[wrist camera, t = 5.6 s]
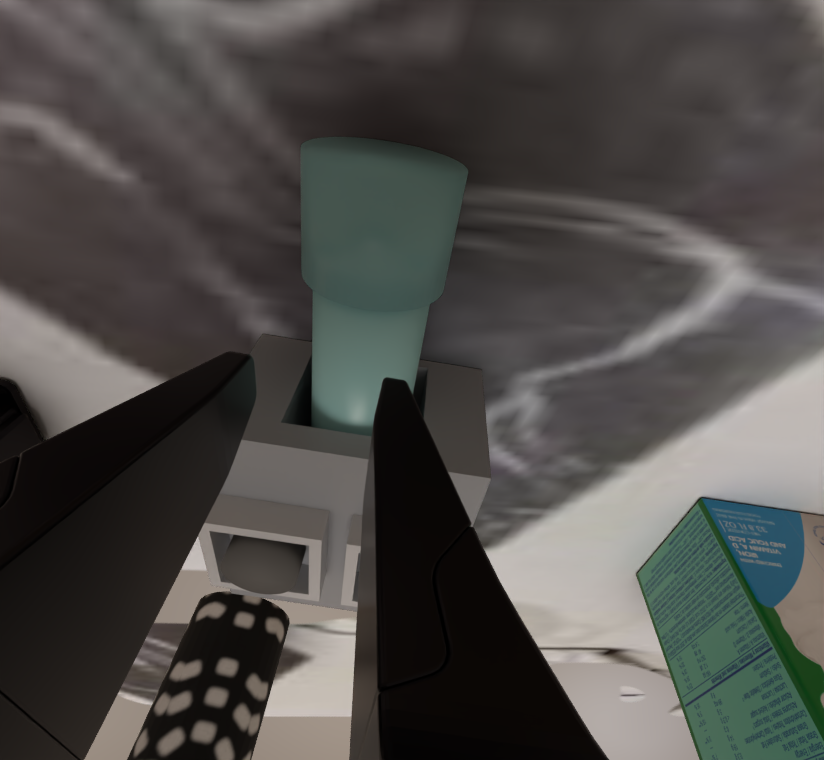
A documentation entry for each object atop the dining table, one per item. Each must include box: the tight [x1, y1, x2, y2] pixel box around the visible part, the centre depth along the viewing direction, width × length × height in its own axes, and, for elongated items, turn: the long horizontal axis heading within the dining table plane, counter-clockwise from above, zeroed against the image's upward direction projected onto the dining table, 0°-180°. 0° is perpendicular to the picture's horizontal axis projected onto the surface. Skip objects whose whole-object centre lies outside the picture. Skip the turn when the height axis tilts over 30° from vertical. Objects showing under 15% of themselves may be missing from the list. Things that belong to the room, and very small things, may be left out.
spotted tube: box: [127, 592, 289, 760], centre depth 33 cm, size 8×8×20 cm
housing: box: [198, 334, 491, 612], centre depth 22 cm, size 11×12×8 cm
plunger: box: [220, 535, 306, 595], centre depth 19 cm, size 3×3×2 cm
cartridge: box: [301, 137, 468, 437], centre depth 20 cm, size 20×5×5 cm, turn 172°
